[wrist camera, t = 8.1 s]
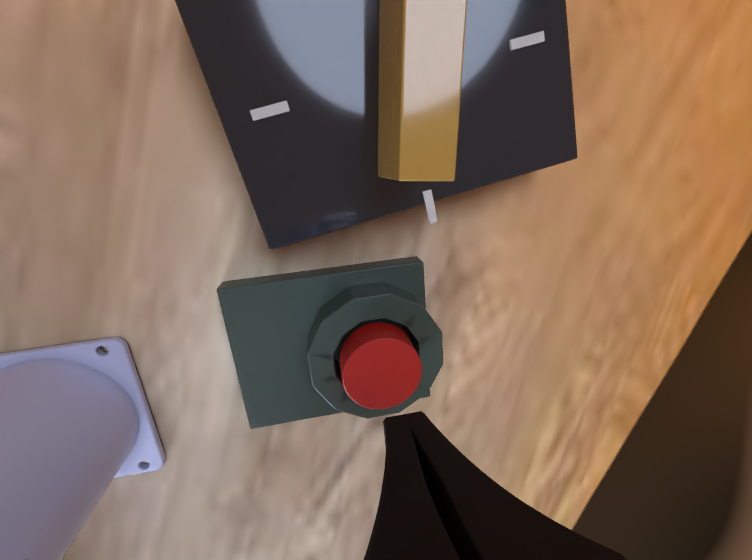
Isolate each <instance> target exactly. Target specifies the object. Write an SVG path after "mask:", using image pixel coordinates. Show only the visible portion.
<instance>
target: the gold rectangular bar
mask: <svg viewBox="0 0 752 560" xmlns="http://www.w3.org/2000/svg"><path fill="white" fill-rule="evenodd" d="M466 11H467V0H379V94H378V177H380V178H386V179H391V180H397V181H454V180H455V168H456V154H457V140H458V126H459V111H460V97H461V83H462V68H463V54H464V40H465V25H466Z"/></svg>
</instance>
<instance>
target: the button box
mask: <svg viewBox="0 0 752 560" xmlns="http://www.w3.org/2000/svg"><path fill="white" fill-rule="evenodd" d="M217 293H218V297H219V301H220V305H221V309H222V313H223V318H224V322H225V326H226V330H227V334H228V338H229V342H230V347H231V351H232V355H233V359H234V363H235V367H236V371H237V375H238V380H239V384H240V388H241V392H242V396H243V400H244V404H245V409H246V413H247V417H248V421H249V425H250V428H251V429H253V428H259V427H264V426H270V425H275V424H281V423H286V422H292V421H297V420H302V419H308V418H313V417H319V416H324V415H330V414H335V413H341V412H346V413H349V414H353V415H356V416H360V417H364V418H372V417H377V416H383V415H388V414H393V413H399V412H400V411H402V410H404V409H405V408H406V407H408V406H409V405H411V404H412V403H413V402H415V401H416V400H418V399H419V398H423V397H429V396H430V387H431V385H432V383H433V382H434V380H435V378H436V376H437V374H438V372H439V370H440V369H441V367H442V365H443V348H442V332H441V330H440V329H439V327H438V326H437V325H436V323H435V322H434V320H433V319H432V318H431V316H430V315H429V314H428V312H427V311H426V307H425V287H424V268H423V261H421V260H420V259H419V258H418V257H417V256H416V257H408V258H400V259H393V260H385V261H378V262H370V263H362V264H355V265H347V266H339V267H332V268H324V269H317V270H309V271H301V272H294V273H286V274H278V275H271V276H263V277H256V278H248V279H240V280H233V281H225V282H222V283H221V285H220V286H219V287H218V289H217ZM376 322H383V323H389V324H392V325H395V326H397V327H398V328H400V329H401V330H403V331H404V332H405V333H406V335H407V336H408V337H409V339H410V341H411V343H412V345H413V346H414V348H415V350H416V352H417V354H418V356H419V358H420V360H421V365H422V374H421V379H420V382H419V384H418V386H417V388H416V390H415V391H414V392H413V394H412V395H411V396H410V397H409V398H408V399H406V400H405V401H403V402H402V403H400V404H398V405H396V406H393V407H391V408H386V409H370V408H366V407H363V406H361V405H359V404H357V403H356V402H354V401H353V400H352V399H351V398H350V397H349V396H348V394H347V393H346V391H345V389H344V386H343V382H342V375H341V367H340V351H341V348H342V345H343V343H344V342H345V340H346V339H347V337H348V336H349V335H350V334H351V333H352V332H353V331H355V330H356V329H358V328H359V327H361V326H363V325H366V324H370V323H376Z"/></svg>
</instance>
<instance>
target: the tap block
mask: <svg viewBox="0 0 752 560" xmlns="http://www.w3.org/2000/svg"><path fill="white" fill-rule="evenodd" d="M175 2H176V5H177V7H178V10H179V13H180V15H181V18H182V20H183V23H184V26H185V28H186V31H187V34H188V36H189V39H190V42H191V44H192V47H193V49H194V52H195V55H196V57H197V60H198V63H199V65H200V68H201V70H202V73H203V76H204V78H205V81H206V84H207V86H208V89H209V91H210V94H211V97H212V99H213V102H214V105H215V107H216V110H217V113H218V115H219V118H220V120H221V123H222V126H223V128H224V131H225V134H226V136H227V139H228V141H229V144H230V147H231V149H232V152H233V155H234V157H235V160H236V163H237V165H238V168H239V170H240V173H241V176H242V178H243V181H244V184H245V186H246V189H247V191H248V194H249V197H250V199H251V202H252V205H253V207H254V210H255V213H256V215H257V218H258V220H259V223H260V226H261V228H262V231H263V234H264V236H265V239H266V241H267V244H268V247H269V249H270V250H274V249H277V248H280V247H284V246H287V245H290V244H294V243H297V242H300V241H304V240H307V239H310V238H314V237H317V236H320V235H324V234H327V233H330V232H334V231H337V230H340V229H344V228H347V227H350V226H354V225H357V224H360V223H364V222H367V221H370V220H374V219H377V218H380V217H384V216H387V215H390V214H394V213H397V212H400V211H404V210H407V209H410V208H414V207H417V206H420V205H424V204H425V206H426V211H427V215H428V220H429V223H430V224H432V223H435V222H438V219H437V214H436V210H435V205H434V201H437V200H440V199H444V198H447V197H450V196H454V195H457V194H460V193H464V192H467V191H470V190H474V189H477V188H480V187H484V186H487V185H490V184H494V183H497V182H500V181H504V180H507V179H510V178H514V177H517V176H520V175H524V174H527V173H530V172H534V171H537V170H540V169H544V168H547V167H550V166H554V165H557V164H560V163H564V162H567V161H570V160H574V159H576V158H577V145H576V132H575V119H574V105H573V92H572V79H571V66H570V52H569V39H568V26H567V13H566V0H467V11H466V25H465V40H464V54H463V68H462V83H461V97H460V111H459V126H458V140H457V154H456V168H455V180H454V181H397V180H391V179H386V178H380V177H378V94H379V0H175Z"/></svg>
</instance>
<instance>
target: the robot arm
mask: <svg viewBox="0 0 752 560" xmlns="http://www.w3.org/2000/svg"><path fill="white" fill-rule="evenodd" d="M100 346H104V347H106V348H107V350H108V352H104V351H102V350H101V348H100ZM383 424H384V434H385V444H386V457H385V470H384V477H383V484H382V491H381V496H380V501H379V506H378V511H377V515H376V519H375V523H374V527H373V531H372V534H371V538H370V542H369V545H368V548H367V551H366V555H365V557H364V560H626V558H625V557H624V556H623V555H622V554H620V553H618V552H616V551H613V550H611V549H609V548H607V547H605V546H603V545H601V544H599V543H596V542H594V541H592V540H590V539H588V538H586V537H584V536H581V535H579V534H578V533H576V532H574V531H572V530H570V529H568V528H566V527H564V526H563V525H561V524H559V523H557V522H555V521H553V520H552V519H550V518H548V517H547V516H545V515H543V514H542V513H540V512H538V511H537V510H535V509H534V508H532V507H530V506H529V505H527V504H526V503H524V502H522V501H521V500H519V499H518V498H517V497H515V496H514V495H512V494H511V493H509V492H508V491H507V490H505V489H504V488H503V487H501V486H500V485H499V484H497V483H496V482H495V481H493V480H492V479H491V478H490V477H488V476H487V475H486V474H485V473H483V472H482V471H481V470H480V469H479V468H478V467H476V466H475V465H474V464H473V463H472V462H471V461H470V460H468V459H467V458H466V457H465V456H464V455H463V454H462V453H461V452H460V451H459V450H458V449H457V448H456V447H455V446H454V445H453V444H452V443H451V442H450V441H449V440H448V439H447V438H446V437H445V436H444V435H443V434H442V433H441V432H440V431H439V430H438V429H437V428H436V427H435V425H434V424H433V423H432V422H431V421H430V420H429V419H428V417H427V416H426V415H425V414H424V413H423V412H421V411H420V412H414V413H409V414H403V415H398V416H393V417H387V418H385V420H384V421H383ZM142 461H145V462H148V463H149V464H146V463H143V462H142ZM165 461H166V456H165V453H164V450H163V447H162V444H161V441H160V438H159V435H158V432H157V429H156V427H155V424H154V421H153V418H152V415H151V412H150V409H149V406H148V403H147V400H146V397H145V394H144V391H143V388H142V385H141V382H140V380H139V377H138V374H137V371H136V368H135V365H134V362H133V359H132V356H131V353H130V350H129V347H128V344H127V343H126V341H125V340H123V339H122V338H119V337H110V338H103V339H96V340H89V341H82V342H75V343H69V344H62V345H55V346H48V347H41V348H34V349H27V350H20V351H13V352H6V353H0V560H62V558H63V557H64V555H65V553H66V552H67V550H68V549H69V547H70V546H71V544H72V543H73V541H74V539H75V538H76V536H77V535H78V533H79V532H80V530H81V528H82V527H83V525H84V524H85V522H86V521H87V519H88V517H89V516H90V514H91V513H92V511H93V510H94V508H95V506H96V505H97V503H98V502H99V500H100V499H101V497H102V496H103V494H104V492H105V491H106V489H107V488H108V486H109V485H110V483H111V481H112V480H113V478H117V477H122V476H127V475H133V474H138V473H143V472H148V471H154V470H158V469H160V468H162V467H163V465H164V463H165Z"/></svg>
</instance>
